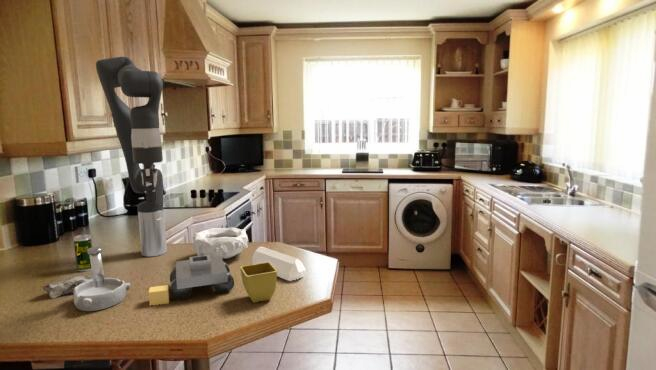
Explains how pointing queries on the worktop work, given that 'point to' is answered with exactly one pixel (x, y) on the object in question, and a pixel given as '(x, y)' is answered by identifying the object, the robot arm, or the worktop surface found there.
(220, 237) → the bowl
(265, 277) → the flower pot
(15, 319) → the worktop surface
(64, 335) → the worktop surface
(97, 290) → the dish
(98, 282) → the pin
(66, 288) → the mineral rock
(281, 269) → the white faceted prism
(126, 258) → the worktop surface
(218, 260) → the dolly
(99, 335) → the worktop surface
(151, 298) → the pale yellow block
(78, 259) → the beer can
